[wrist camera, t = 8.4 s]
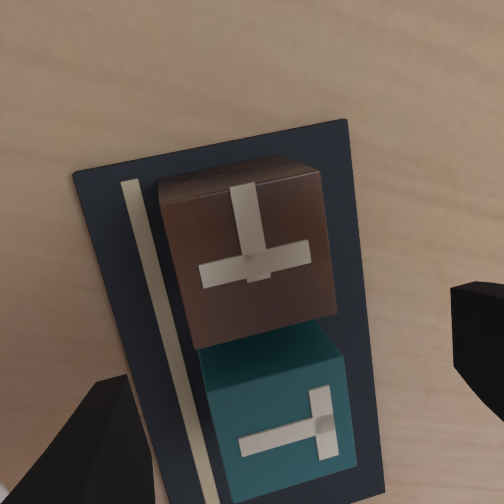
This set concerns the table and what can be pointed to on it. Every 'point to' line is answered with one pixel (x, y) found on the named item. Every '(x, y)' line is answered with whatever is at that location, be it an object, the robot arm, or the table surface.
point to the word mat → (176, 325)
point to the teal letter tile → (279, 408)
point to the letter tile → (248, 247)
